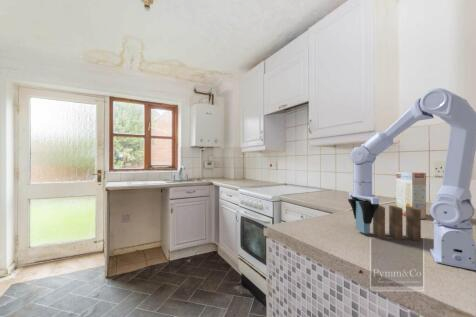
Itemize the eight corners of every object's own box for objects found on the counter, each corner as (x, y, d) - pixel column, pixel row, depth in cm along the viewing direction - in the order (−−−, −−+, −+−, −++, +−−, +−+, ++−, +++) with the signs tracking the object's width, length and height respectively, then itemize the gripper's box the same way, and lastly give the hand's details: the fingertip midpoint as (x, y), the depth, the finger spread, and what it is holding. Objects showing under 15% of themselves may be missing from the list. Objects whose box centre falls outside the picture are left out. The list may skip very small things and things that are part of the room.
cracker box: (427, 219, 97) (427, 172, 97) (411, 218, 98) (411, 172, 98) (409, 212, 110) (409, 171, 111) (395, 212, 112) (395, 171, 112)
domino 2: (379, 233, 77) (379, 204, 77) (385, 238, 72) (385, 207, 72) (373, 232, 77) (373, 204, 77) (378, 237, 72) (378, 207, 73)
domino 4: (412, 236, 74) (412, 206, 74) (420, 241, 69) (420, 209, 70) (405, 235, 75) (405, 206, 75) (413, 240, 70) (413, 209, 70)
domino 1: (364, 233, 73) (364, 203, 74) (355, 228, 78) (355, 200, 79) (369, 233, 73) (369, 203, 74) (361, 228, 78) (361, 201, 79)
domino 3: (395, 234, 75) (395, 205, 76) (402, 239, 71) (402, 208, 71) (389, 234, 76) (389, 205, 76) (395, 238, 71) (395, 208, 71)
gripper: (388, 184, 69) (388, 227, 69) (361, 180, 84) (361, 216, 83) (366, 184, 69) (366, 227, 69) (343, 180, 83) (343, 215, 83)
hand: (362, 221), depth 76 cm, fingers closed on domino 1, 5 cm apart
